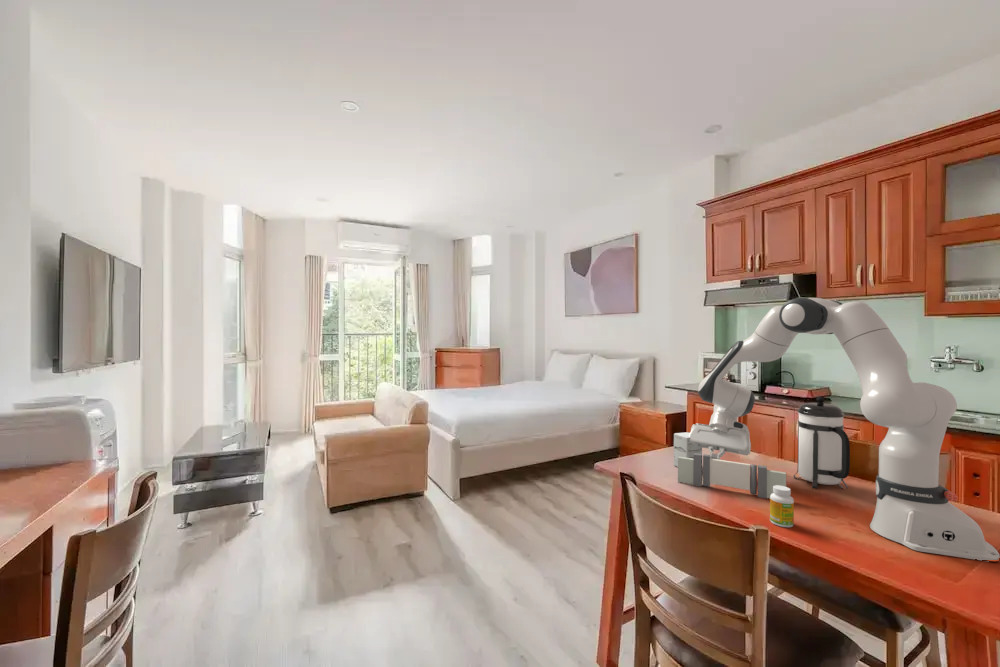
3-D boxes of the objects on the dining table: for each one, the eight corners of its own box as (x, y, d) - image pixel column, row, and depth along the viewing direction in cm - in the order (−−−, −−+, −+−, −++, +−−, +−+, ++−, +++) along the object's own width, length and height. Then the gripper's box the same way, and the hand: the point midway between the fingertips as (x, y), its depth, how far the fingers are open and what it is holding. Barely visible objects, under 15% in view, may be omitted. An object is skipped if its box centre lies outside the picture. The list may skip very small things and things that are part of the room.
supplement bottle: (782, 529, 112) (783, 492, 112) (765, 520, 117) (765, 485, 117) (798, 526, 113) (798, 490, 113) (780, 518, 119) (780, 483, 118)
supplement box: (672, 465, 164) (672, 433, 164) (688, 463, 167) (688, 431, 167) (686, 471, 157) (686, 437, 157) (702, 469, 160) (702, 436, 159)
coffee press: (785, 482, 146) (785, 396, 146) (802, 473, 156) (802, 391, 155) (848, 498, 132) (849, 402, 132) (862, 487, 142) (863, 398, 142)
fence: (785, 499, 131) (785, 465, 131) (785, 502, 129) (786, 467, 129) (678, 480, 148) (678, 450, 148) (677, 482, 146) (677, 452, 146)
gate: (756, 492, 135) (756, 461, 135) (756, 495, 134) (756, 463, 134) (703, 483, 144) (703, 454, 143) (702, 485, 142) (703, 455, 142)
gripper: (690, 417, 162) (681, 448, 155) (751, 426, 148) (745, 460, 141) (694, 427, 165) (685, 458, 158) (754, 436, 152) (748, 470, 145)
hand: (714, 459), depth 150 cm, fingers closed
